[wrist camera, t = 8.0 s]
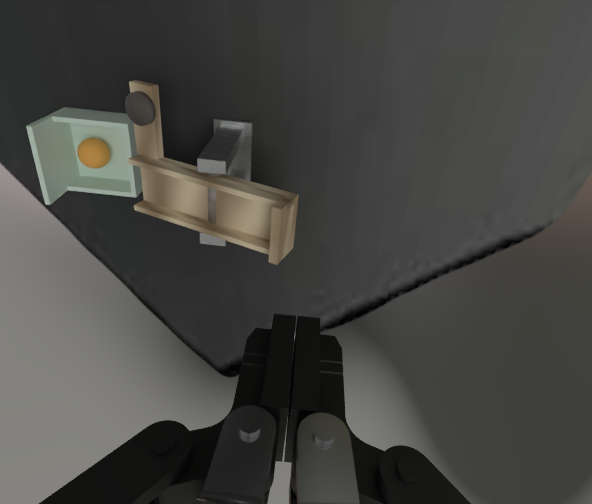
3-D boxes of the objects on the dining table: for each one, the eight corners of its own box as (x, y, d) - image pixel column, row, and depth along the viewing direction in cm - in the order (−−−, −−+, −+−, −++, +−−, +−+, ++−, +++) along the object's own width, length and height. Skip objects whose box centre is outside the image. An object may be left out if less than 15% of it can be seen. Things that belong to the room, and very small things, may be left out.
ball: (114, 138, 46) (92, 131, 47) (90, 146, 44) (67, 138, 45) (118, 166, 48) (97, 159, 49) (95, 175, 45) (73, 168, 46)
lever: (148, 200, 44) (123, 213, 41) (135, 79, 38) (105, 85, 35) (293, 247, 39) (277, 265, 36) (307, 116, 33) (288, 127, 30)
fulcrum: (216, 196, 50) (191, 246, 41) (215, 117, 45) (187, 152, 36) (250, 200, 50) (233, 250, 41) (253, 121, 45) (235, 158, 36)
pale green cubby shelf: (64, 106, 46) (26, 126, 40) (140, 115, 46) (112, 135, 40) (78, 177, 50) (45, 204, 44) (147, 184, 50) (123, 212, 44)
